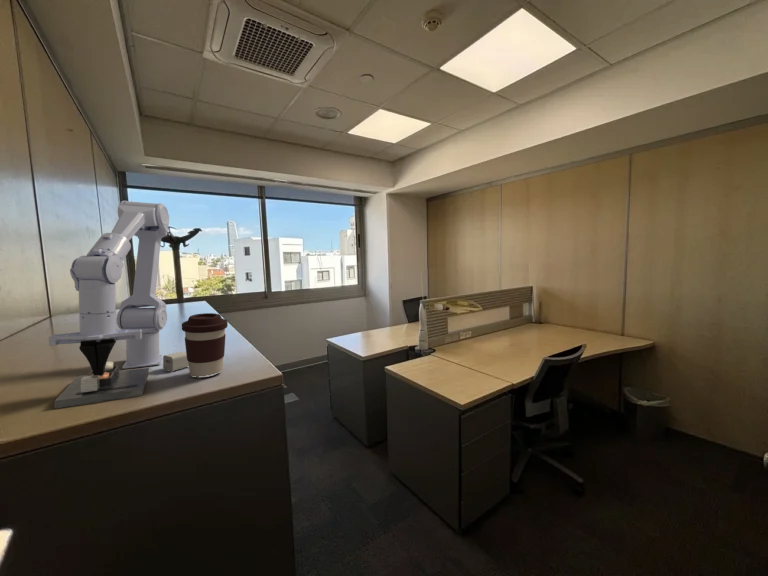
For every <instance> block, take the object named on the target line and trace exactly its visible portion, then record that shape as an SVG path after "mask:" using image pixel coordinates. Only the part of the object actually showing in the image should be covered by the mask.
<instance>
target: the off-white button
mask: <svg viewBox="0 0 768 576" xmlns="http://www.w3.org/2000/svg"><path fill="white" fill-rule="evenodd" d="M113 366H114V362H113V361H107V362H106V366H105V372H107V371H111V370H113Z"/></svg>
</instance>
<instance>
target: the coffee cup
mask: <svg viewBox="0 0 768 576" xmlns="http://www.w3.org/2000/svg"><path fill="white" fill-rule="evenodd" d="M227 328H228V320H227V319H225V318H222V316H221V315H220V313H215V312H214V313H213V312H210V313H207V312H204V313H196V314H193V315H190V316H188V319H187V320H186V321H183V322H182V323H181V330H182V331H183V332H184V334H185V336H184V343H185V344H184V346H185V352H186V355H187V360H188V363H189V367H188V370H189V371H188V372H189V376H190V375H191V376H190V377H192V376H196V377H199V376H206V375H211V374H215V373H218V372H220V371H221V370H222V371H223V369H224V368H223V365H224V356H225V348H226V332H225V331H226V330H225V329H227Z"/></svg>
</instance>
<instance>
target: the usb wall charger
mask: <svg viewBox="0 0 768 576" xmlns="http://www.w3.org/2000/svg"><path fill="white" fill-rule="evenodd" d="M187 366H189V363H188V360H187V355H186V351H178V352H174V353H169V354H164V355H162V368H163V370H164V371H166V370H169V371H174V372H176V371H175V370H178V369H181V368H184V367H187ZM181 370H182V369H181ZM169 371H168V372H169ZM178 371H179V370H178Z"/></svg>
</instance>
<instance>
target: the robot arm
mask: <svg viewBox="0 0 768 576" xmlns="http://www.w3.org/2000/svg"><path fill="white" fill-rule="evenodd" d="M117 215H118V219H117V221H116V223H115V225H114V226H113V229H112V230H111V232H107V233H106V232H105V233H103V234H101V236H100V237H99V238H98V240H97V241H96V242H95V243H94V245H93V246H92V247H91V249H90V250H89V251H88V252H87V254H86V255H80V256H78V257H77V258H75V259H74V260H73V261H72V263H71V267H70V268H69V272H70V273H69V274H70V276H71V278H72V280H73V282H74V288H75V290H76V291H77V292H78V308H79V309H78V311H79V313H78V317H79V318H78V319H79V331H77V332H68V333H66V332H65V333H58V334H57V333H55V334H54V333H53V334H51V335H49V336H48V346H49V347H52V346H57V345H69V344H80V345H79V346H78V348H79V350H80V352H81V354H83V356H84V357H85V358H86V361H88V363H89V365H90V367H91V370H92V371H93V374H94V375H99V376H102V375H103V374H104V372H105V366H106V362H108V359H109V357H110V354H111V352H112V350H113V348H114V346H115V345H116V343H117V341H125V349H126V350H125V352H126V357H125V358H126V360H125V362H124V364H123V365H122V367H121V369H123V370H124V369H133V368H141V367H142V368H143V367H144V368H145V367H150V366H160V365H161V363H162V360H163V354H160V331H162V330H163V329H164V327H165V326H166V324H167V322H168V321H167V320H168V313H167V304H166V302H165V301H163V300H161V299H160V298H159V297H157V296H156V292H157V291H156V290H157V283H158V282H157V281H158V272H159V263H160V262H159V261H160V254H161V253H160V252H161V244H162V239H163V238H164V237H167V236H168V232H169V225H170V214H169V211H168V208H167V207H166V206H165V204H164V203H159V202H158V203H152V202H151V203H150V202H140V201H129V200H122V201H120V202H119V204H118V206H117ZM134 236H135V237H136V238H137V239H138V244H137V245H138V246H137V254H136V264H135V273H134V280H133V289H132V290H133V291H132V295H130V296H129V297H127V298H126V299H124V300H122V301H121V302H120V306H119V310H118V312H117V314H116V306H117V305H116V303H117V302H116V283H118V282H119V280H120V279H121V277H122V272H123V267H124V262H123V261H124V260H125V258H126V256H127V255H128V253H129V252H130V250H131V248H132V245H131V242H130V241H131V239H132V238H133V237H134ZM117 328H119V329H117Z"/></svg>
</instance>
